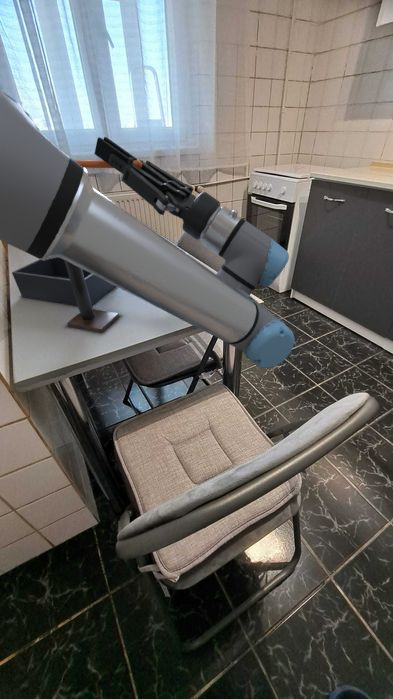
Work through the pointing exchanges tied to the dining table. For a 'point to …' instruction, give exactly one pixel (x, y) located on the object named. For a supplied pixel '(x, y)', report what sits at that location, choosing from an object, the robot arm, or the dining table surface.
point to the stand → (87, 304)
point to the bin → (56, 282)
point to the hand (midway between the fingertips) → (100, 145)
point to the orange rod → (101, 163)
